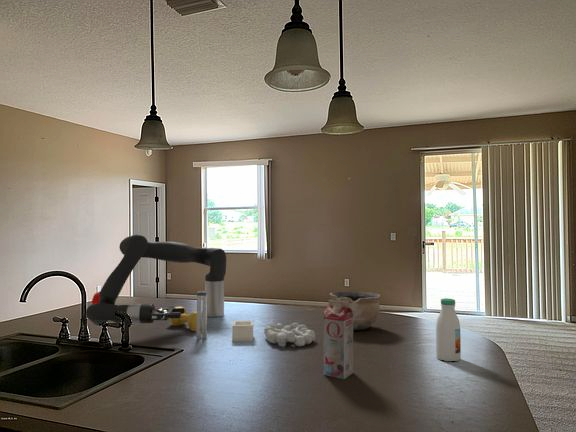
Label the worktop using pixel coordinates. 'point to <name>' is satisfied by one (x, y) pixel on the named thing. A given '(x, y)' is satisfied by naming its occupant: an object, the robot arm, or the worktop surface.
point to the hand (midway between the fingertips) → (182, 313)
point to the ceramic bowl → (360, 307)
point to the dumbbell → (186, 320)
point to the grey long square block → (202, 314)
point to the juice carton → (338, 339)
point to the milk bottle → (448, 332)
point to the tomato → (96, 298)
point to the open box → (242, 331)
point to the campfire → (289, 334)
